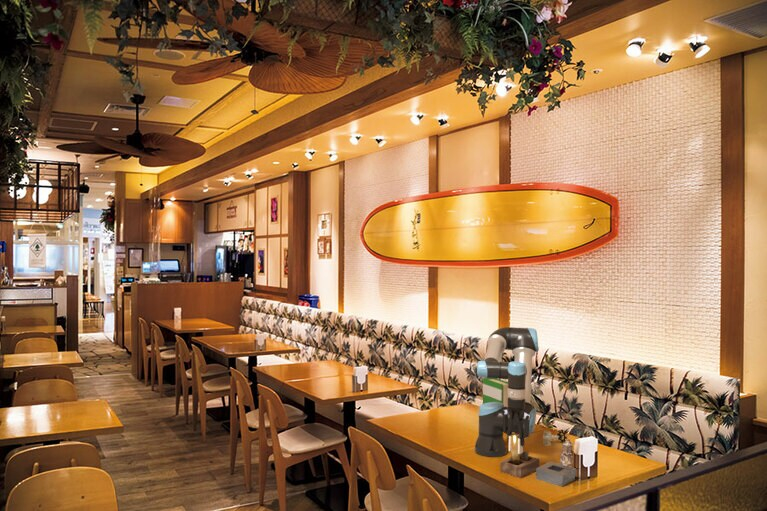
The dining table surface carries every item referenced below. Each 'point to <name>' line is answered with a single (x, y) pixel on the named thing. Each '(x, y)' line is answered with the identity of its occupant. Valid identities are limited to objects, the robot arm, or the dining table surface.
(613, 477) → the dining table surface
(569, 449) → the figurine
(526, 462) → the box
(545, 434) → the valve
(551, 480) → the socket block
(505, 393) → the hardback book
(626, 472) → the dining table surface
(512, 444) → the translucent yellow cylinder
